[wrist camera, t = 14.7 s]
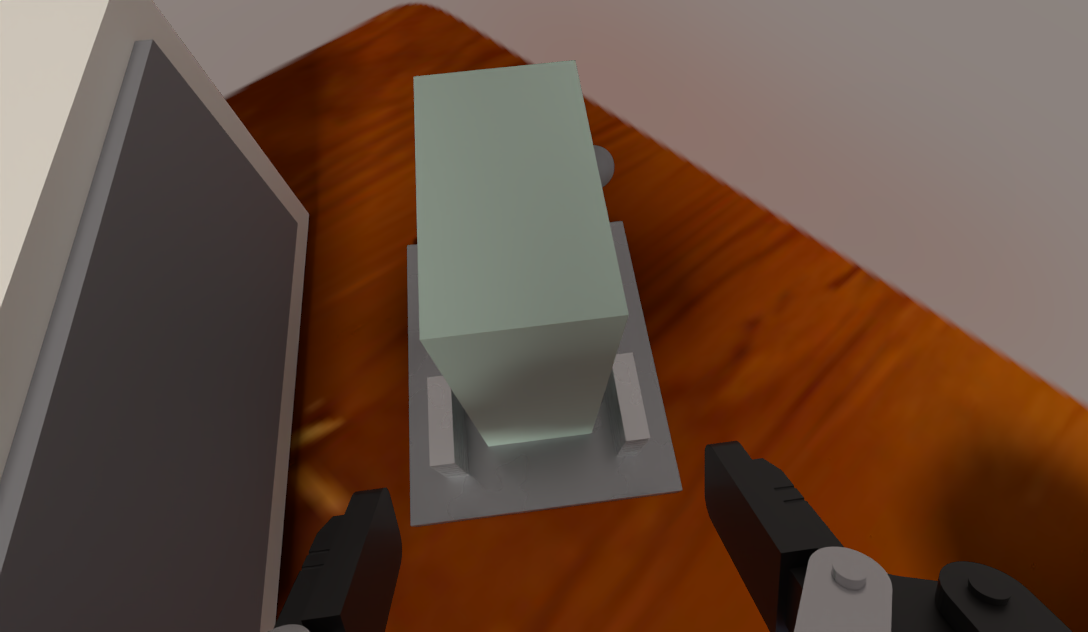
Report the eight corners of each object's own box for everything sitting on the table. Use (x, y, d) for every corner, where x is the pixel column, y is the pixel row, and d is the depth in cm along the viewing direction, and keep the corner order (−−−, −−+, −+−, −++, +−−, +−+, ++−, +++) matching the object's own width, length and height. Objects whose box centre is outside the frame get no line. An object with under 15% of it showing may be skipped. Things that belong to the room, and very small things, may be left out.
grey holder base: (416, 526, 19) (385, 522, 16) (411, 254, 24) (387, 205, 21) (677, 492, 20) (703, 480, 16) (620, 230, 25) (631, 178, 21)
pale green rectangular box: (488, 446, 20) (420, 339, 10) (476, 286, 23) (413, 76, 13) (617, 430, 20) (680, 308, 10) (588, 273, 23) (614, 55, 13)
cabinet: (-53, 791, 16) (-1278, 1278, 5) (102, 237, 25) (-249, -6, 14) (280, 743, 17) (-240, 1110, 6) (319, 213, 25) (140, -42, 14)
